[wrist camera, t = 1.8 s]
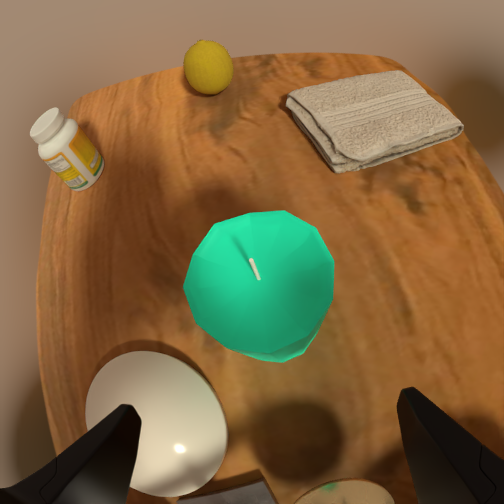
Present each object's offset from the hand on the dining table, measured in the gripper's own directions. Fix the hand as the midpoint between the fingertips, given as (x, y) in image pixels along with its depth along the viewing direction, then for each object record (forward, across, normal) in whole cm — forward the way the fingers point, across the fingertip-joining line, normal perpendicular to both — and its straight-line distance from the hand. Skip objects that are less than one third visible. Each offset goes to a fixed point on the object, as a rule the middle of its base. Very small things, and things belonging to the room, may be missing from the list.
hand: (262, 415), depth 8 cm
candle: (+12, 0, +5) cm, 13 cm away
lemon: (+31, +4, -14) cm, 35 cm away
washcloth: (+26, -13, -9) cm, 31 cm away
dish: (+6, +10, +10) cm, 15 cm away
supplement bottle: (+25, +20, -8) cm, 33 cm away
